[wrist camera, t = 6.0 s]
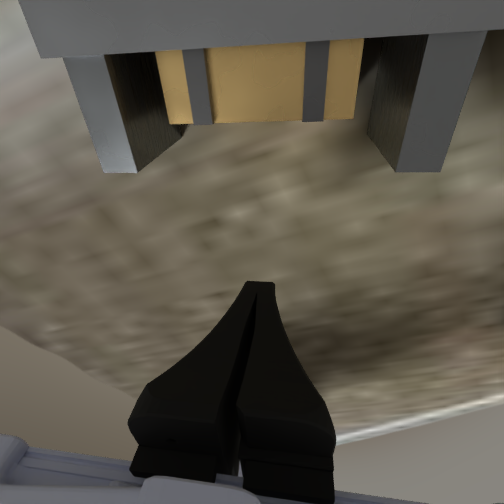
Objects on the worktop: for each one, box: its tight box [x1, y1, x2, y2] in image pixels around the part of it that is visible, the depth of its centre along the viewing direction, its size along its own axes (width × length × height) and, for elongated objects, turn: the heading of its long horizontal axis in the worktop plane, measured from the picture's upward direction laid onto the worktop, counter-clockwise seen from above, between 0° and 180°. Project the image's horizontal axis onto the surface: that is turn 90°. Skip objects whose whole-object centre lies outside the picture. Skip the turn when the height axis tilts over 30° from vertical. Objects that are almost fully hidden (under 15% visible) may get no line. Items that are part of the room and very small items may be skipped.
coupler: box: [18, 0, 504, 173], centre depth 11 cm, size 8×13×6 cm, turn 93°
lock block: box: [155, 38, 364, 125], centre depth 12 cm, size 5×8×4 cm, turn 93°
